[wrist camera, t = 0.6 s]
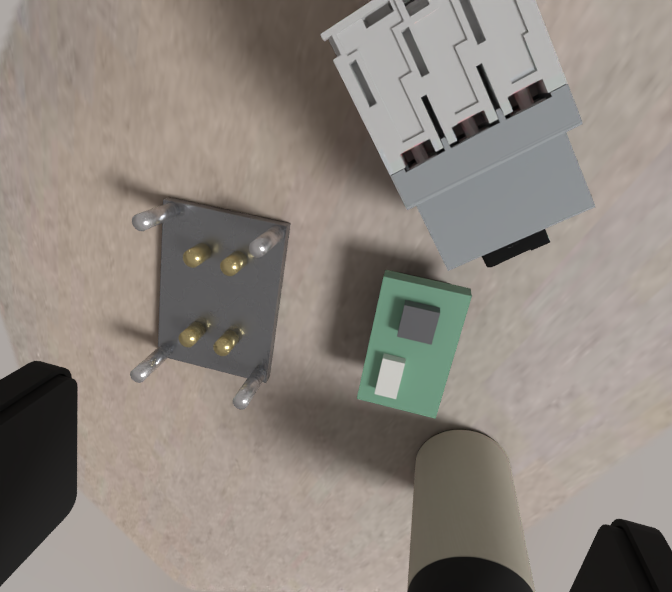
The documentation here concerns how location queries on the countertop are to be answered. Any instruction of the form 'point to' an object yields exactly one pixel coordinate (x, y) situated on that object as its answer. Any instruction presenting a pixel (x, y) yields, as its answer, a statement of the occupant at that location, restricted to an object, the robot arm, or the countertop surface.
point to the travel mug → (466, 519)
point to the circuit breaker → (467, 119)
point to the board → (413, 343)
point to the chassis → (217, 290)
